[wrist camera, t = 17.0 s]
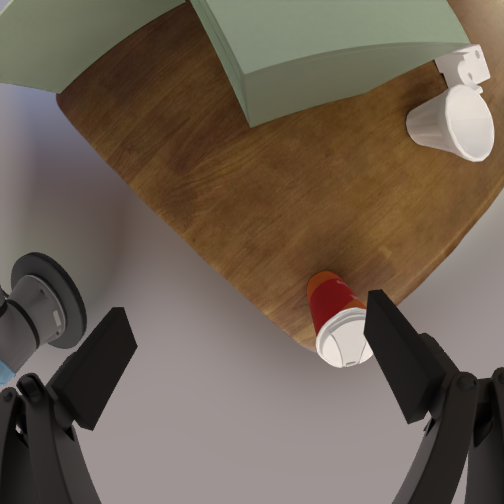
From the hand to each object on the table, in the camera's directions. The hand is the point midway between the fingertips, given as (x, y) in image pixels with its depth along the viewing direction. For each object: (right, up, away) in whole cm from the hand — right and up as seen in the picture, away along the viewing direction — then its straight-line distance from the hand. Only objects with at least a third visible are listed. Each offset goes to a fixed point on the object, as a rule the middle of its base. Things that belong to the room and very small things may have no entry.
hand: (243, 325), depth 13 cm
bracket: (+39, +37, +15) cm, 56 cm away
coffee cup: (+12, -2, +29) cm, 31 cm away
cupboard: (+4, +35, +16) cm, 39 cm away
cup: (+27, +24, +20) cm, 41 cm away
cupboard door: (-23, +40, +14) cm, 48 cm away
